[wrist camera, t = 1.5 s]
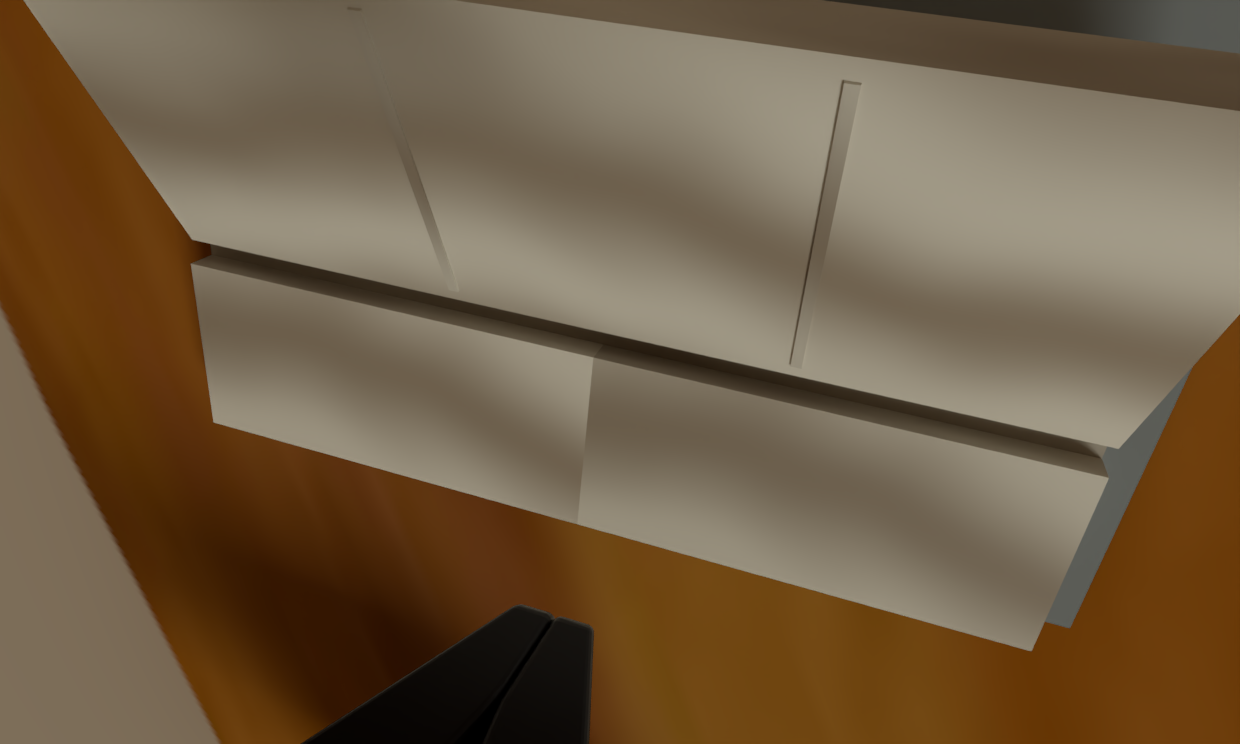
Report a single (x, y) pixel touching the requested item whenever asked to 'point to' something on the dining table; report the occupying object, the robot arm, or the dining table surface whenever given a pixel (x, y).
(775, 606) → the dining table surface
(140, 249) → the dining table surface
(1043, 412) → the plank
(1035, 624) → the floor row
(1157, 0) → the underlay mat
